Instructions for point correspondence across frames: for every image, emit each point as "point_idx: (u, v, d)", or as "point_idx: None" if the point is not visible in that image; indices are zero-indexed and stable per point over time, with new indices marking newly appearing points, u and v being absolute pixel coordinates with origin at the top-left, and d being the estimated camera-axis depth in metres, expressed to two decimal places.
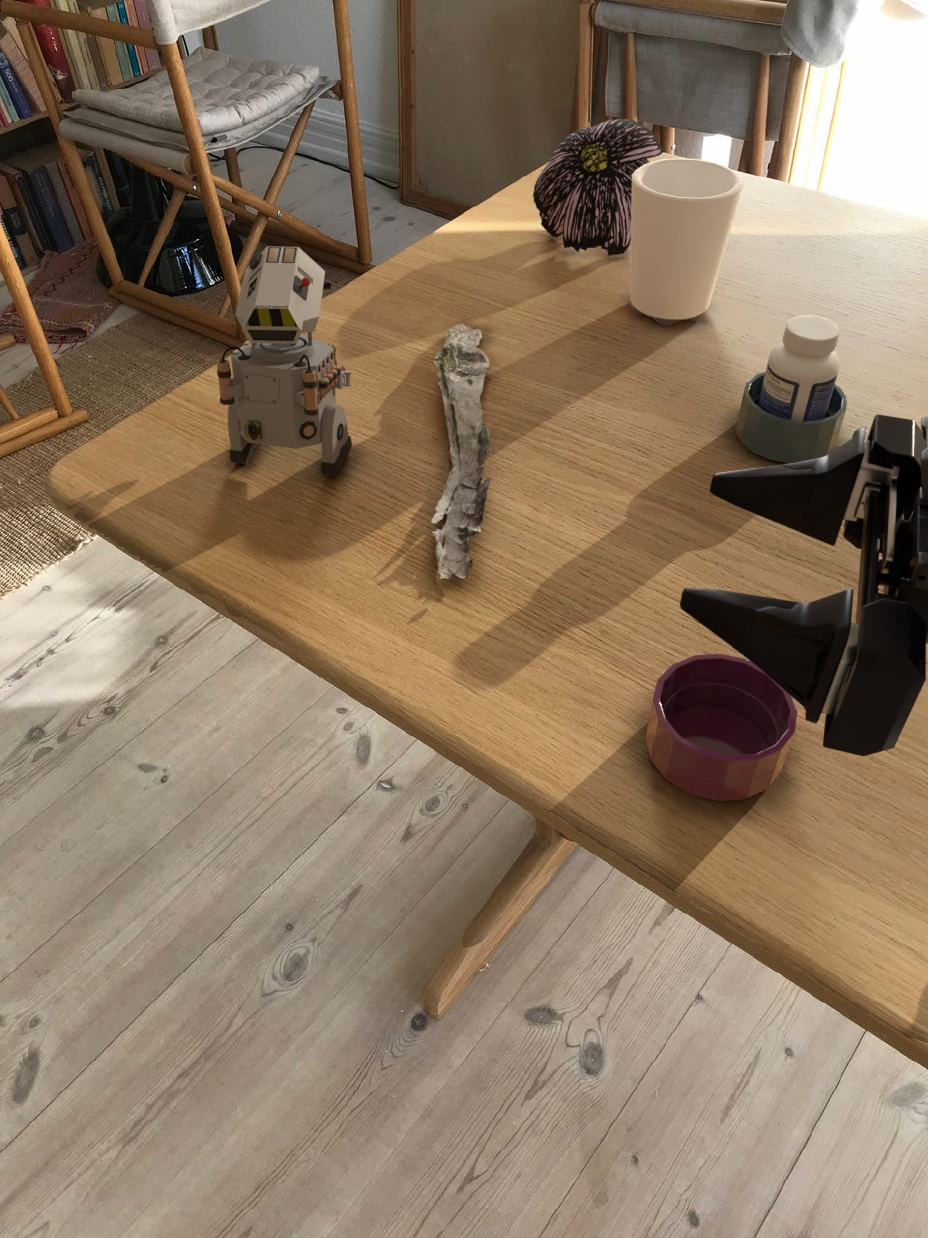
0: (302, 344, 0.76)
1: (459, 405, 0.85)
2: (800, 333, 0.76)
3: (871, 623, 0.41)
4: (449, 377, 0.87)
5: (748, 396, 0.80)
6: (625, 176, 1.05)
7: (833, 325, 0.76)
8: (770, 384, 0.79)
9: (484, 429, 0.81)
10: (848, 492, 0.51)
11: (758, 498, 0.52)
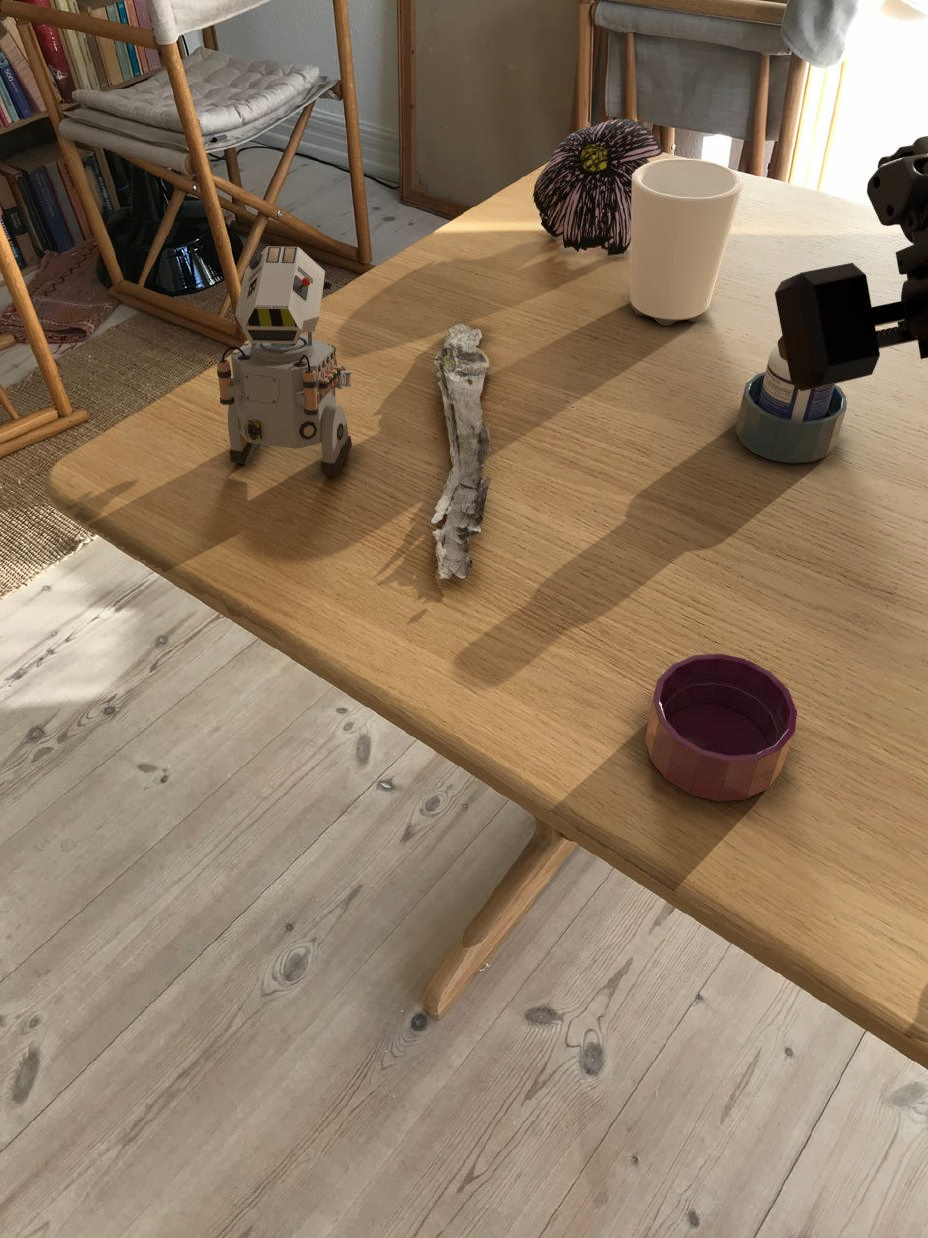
0: (302, 344, 0.76)
1: (459, 405, 0.85)
2: None
3: None
4: (449, 377, 0.87)
5: (748, 396, 0.80)
6: (625, 176, 1.05)
7: None
8: (770, 384, 0.79)
9: (484, 429, 0.81)
10: None
11: None
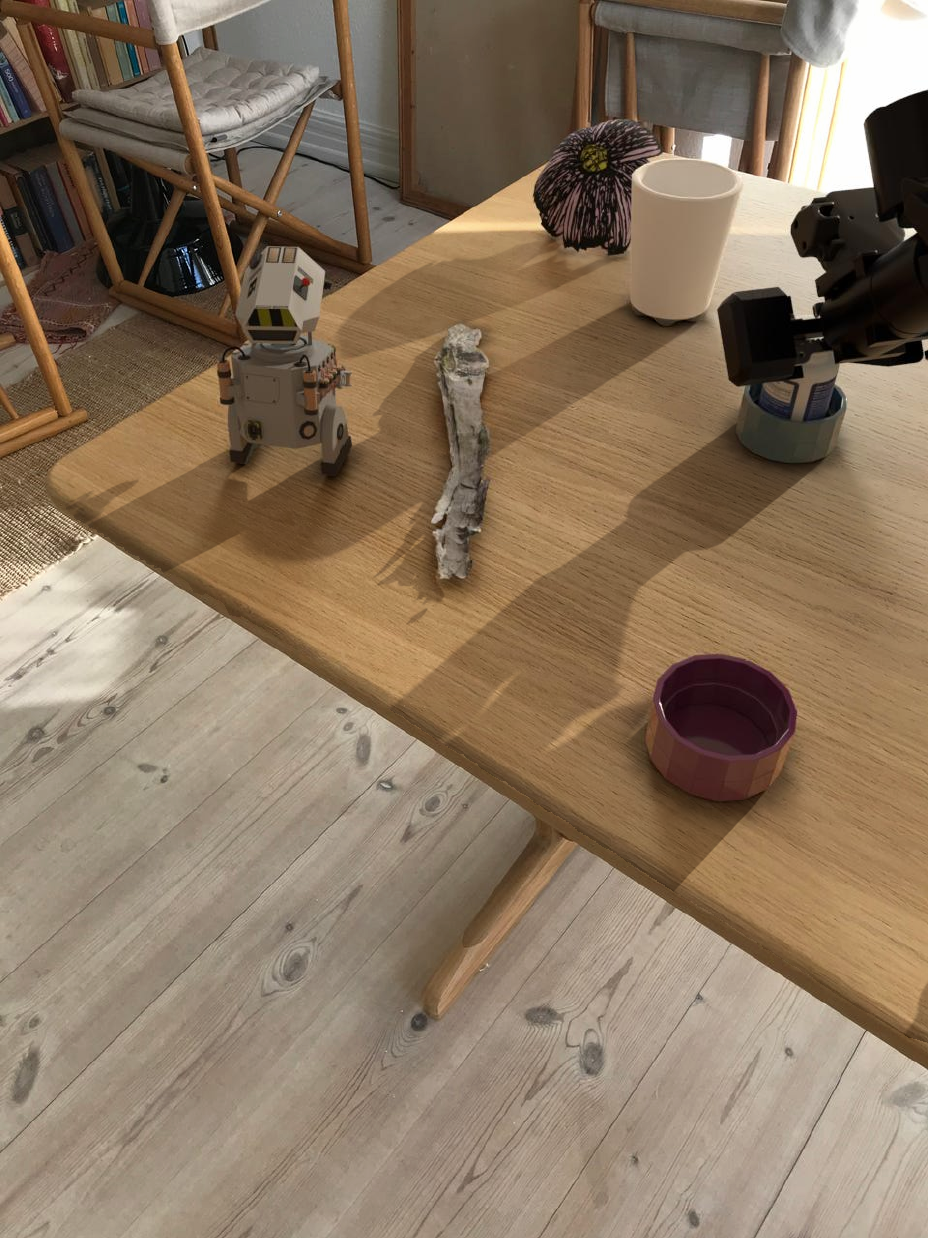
0: (302, 344, 0.76)
1: (459, 405, 0.85)
2: None
3: None
4: (449, 377, 0.87)
5: (748, 396, 0.80)
6: (625, 176, 1.05)
7: None
8: (770, 384, 0.79)
9: (484, 429, 0.81)
10: None
11: None
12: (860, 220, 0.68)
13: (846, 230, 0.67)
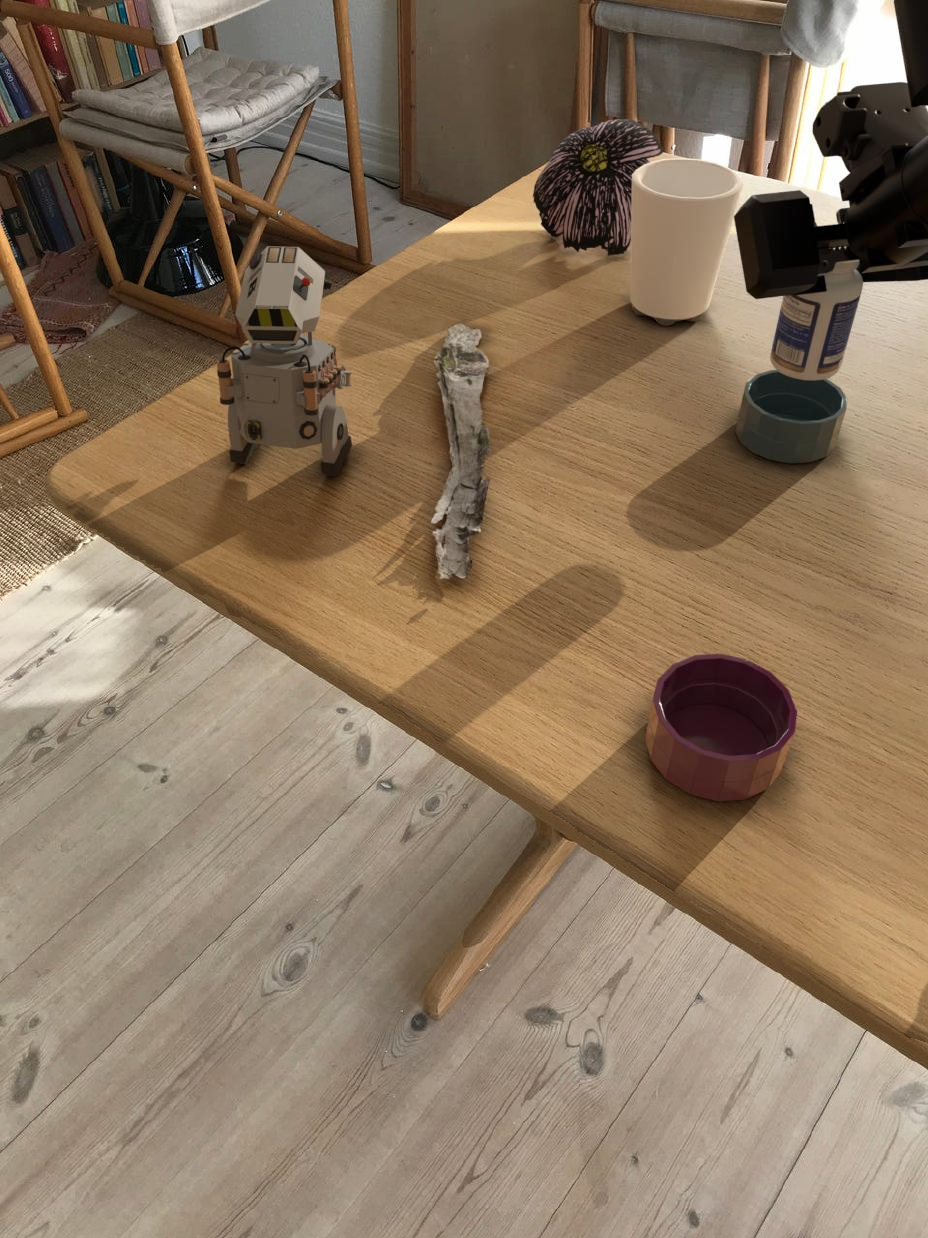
0: (302, 344, 0.76)
1: (459, 405, 0.85)
2: None
3: None
4: (449, 377, 0.87)
5: (748, 396, 0.80)
6: (625, 176, 1.05)
7: None
8: (789, 307, 0.74)
9: (484, 429, 0.81)
10: None
11: None
12: (888, 115, 0.63)
13: (873, 125, 0.62)
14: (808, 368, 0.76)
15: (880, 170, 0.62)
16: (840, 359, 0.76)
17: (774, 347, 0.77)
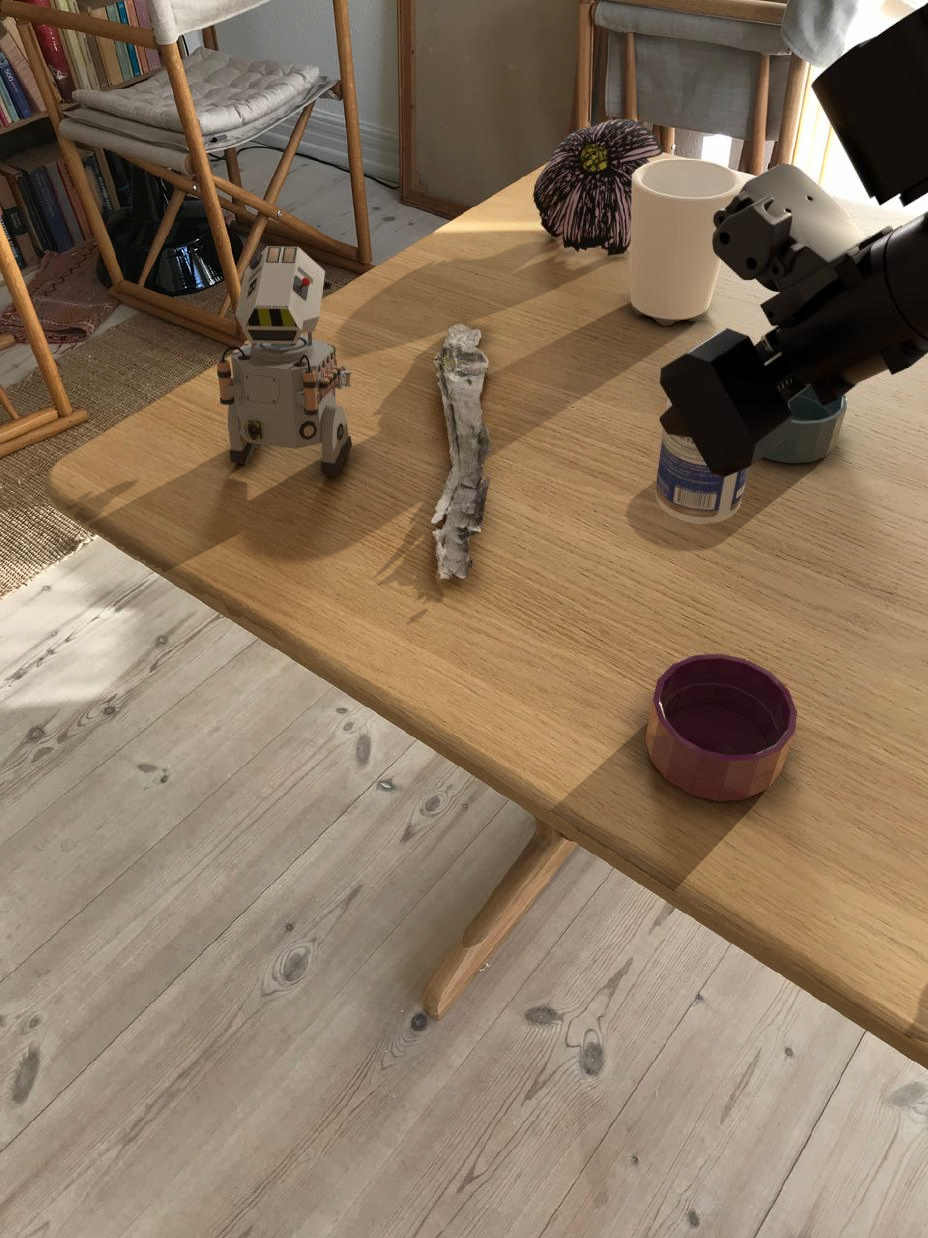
0: (302, 344, 0.76)
1: (459, 405, 0.85)
2: None
3: None
4: (448, 377, 0.87)
5: None
6: (625, 176, 1.05)
7: None
8: (689, 449, 0.58)
9: (484, 429, 0.81)
10: None
11: None
12: (798, 211, 0.48)
13: (794, 229, 0.48)
14: (722, 509, 0.61)
15: (829, 284, 0.47)
16: (744, 484, 0.62)
17: (669, 495, 0.61)
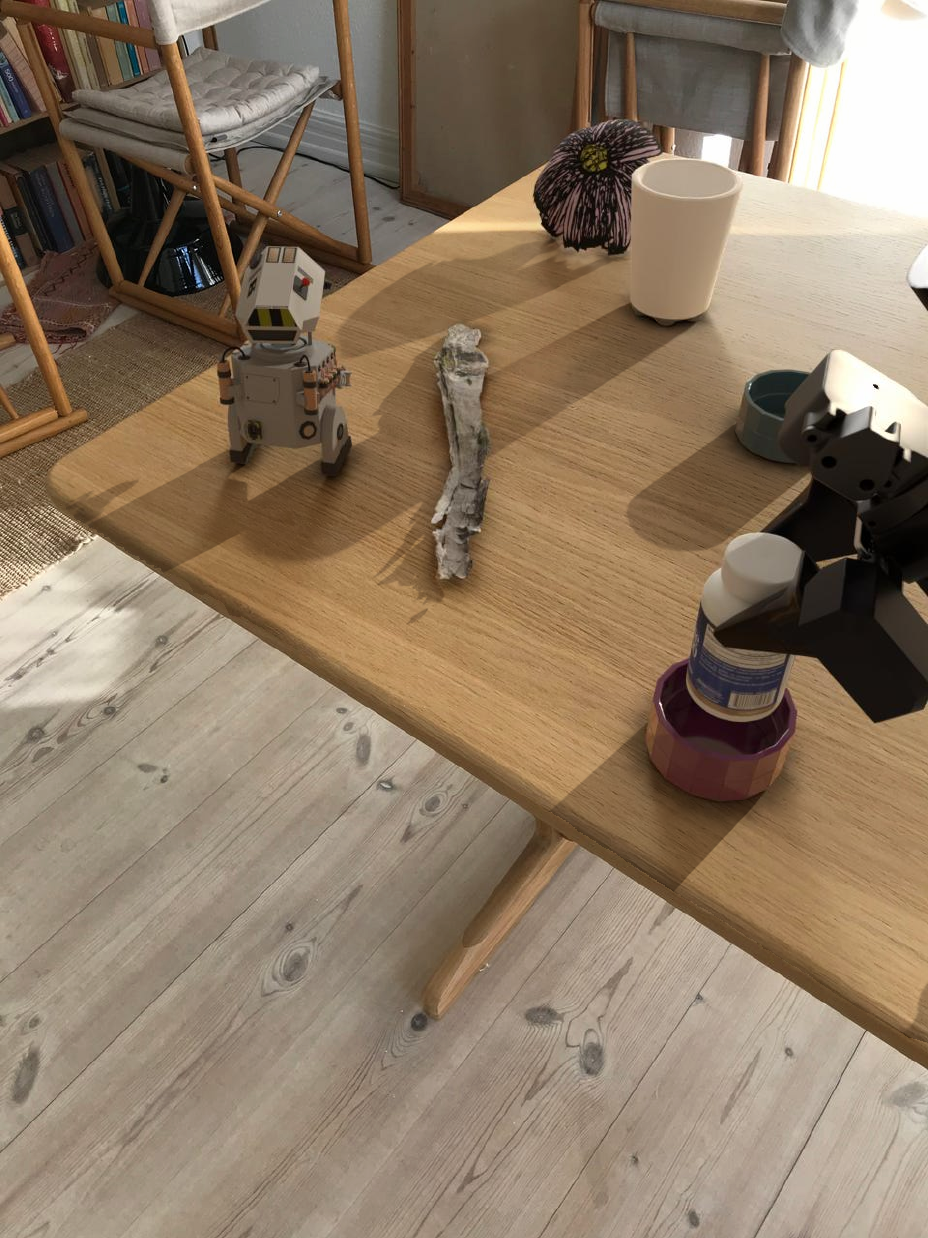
0: (302, 344, 0.76)
1: (458, 405, 0.85)
2: (777, 578, 0.48)
3: (810, 597, 0.41)
4: (448, 377, 0.87)
5: (748, 396, 0.80)
6: (625, 176, 1.05)
7: (773, 537, 0.51)
8: (750, 657, 0.51)
9: (484, 429, 0.81)
10: (844, 500, 0.50)
11: None
12: (879, 407, 0.42)
13: None
14: (778, 699, 0.54)
15: None
16: None
17: (722, 701, 0.54)
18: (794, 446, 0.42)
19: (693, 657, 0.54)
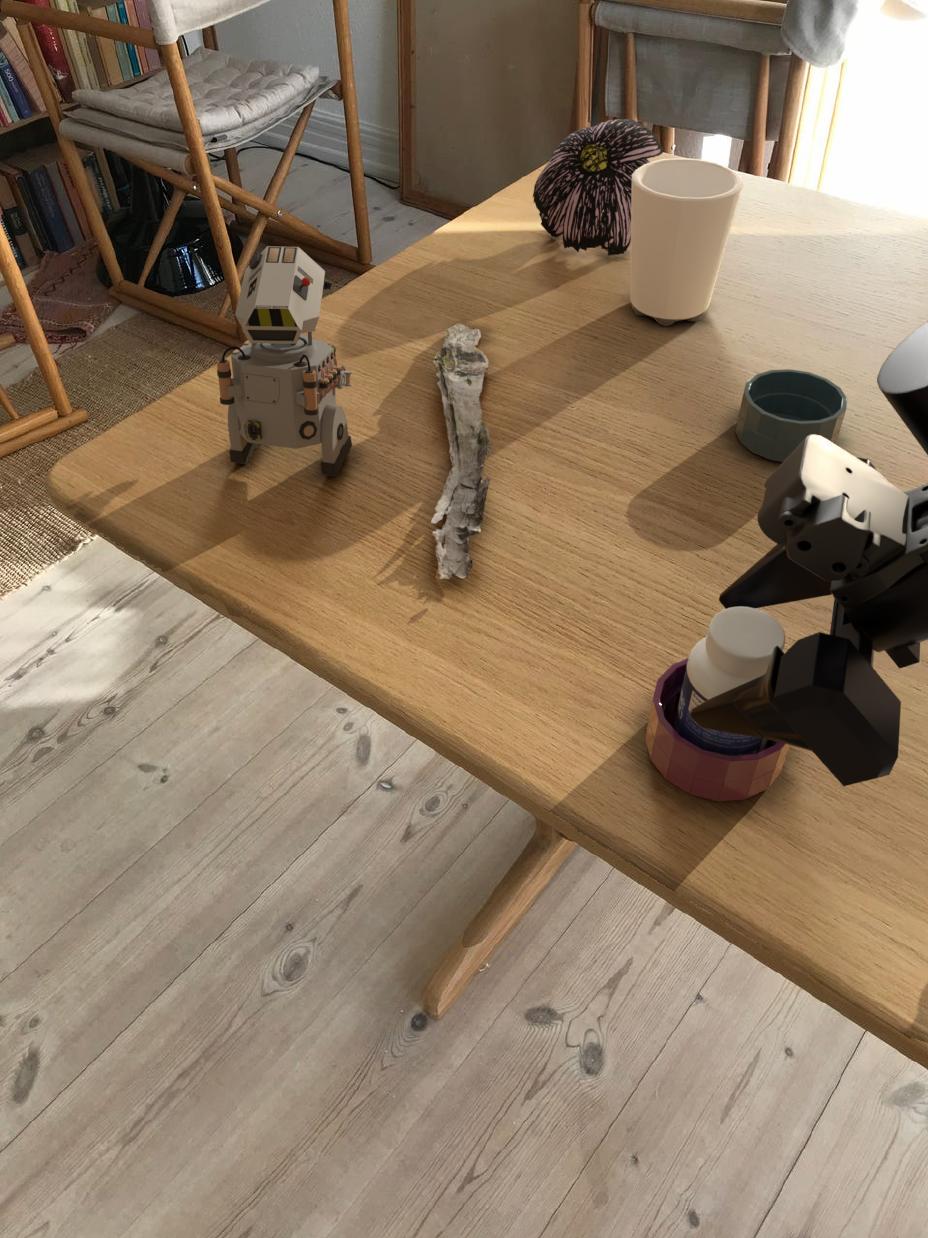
0: (302, 344, 0.76)
1: (458, 405, 0.85)
2: (757, 652, 0.52)
3: (785, 669, 0.44)
4: (448, 377, 0.87)
5: (748, 396, 0.80)
6: (625, 176, 1.05)
7: (754, 612, 0.54)
8: None
9: (483, 429, 0.81)
10: None
11: (765, 592, 0.57)
12: (852, 492, 0.45)
13: None
14: None
15: None
16: None
17: None
18: (772, 526, 0.45)
19: (679, 719, 0.58)
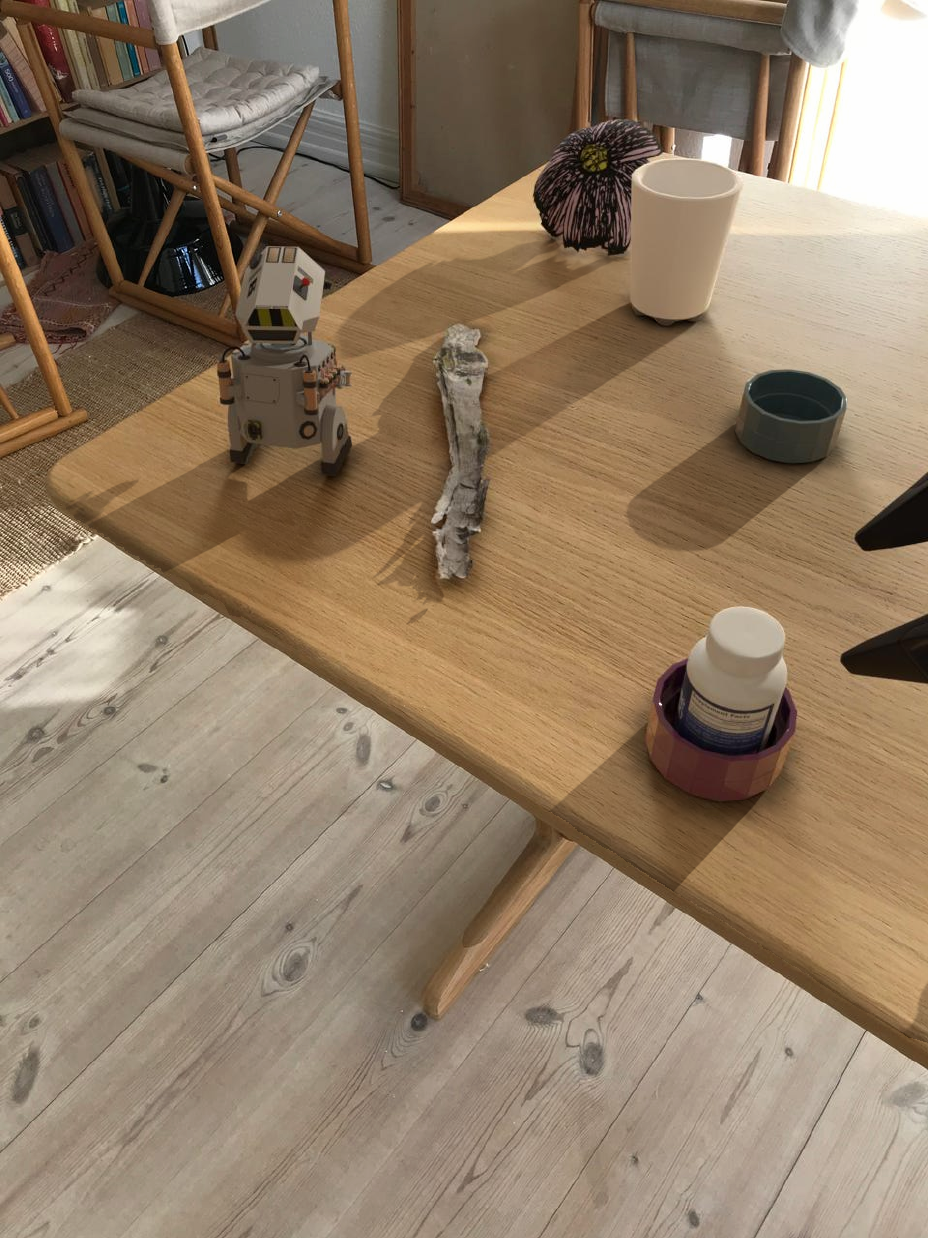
0: (302, 344, 0.76)
1: (458, 405, 0.85)
2: (757, 652, 0.52)
3: None
4: (448, 377, 0.87)
5: (748, 396, 0.80)
6: (625, 176, 1.05)
7: (754, 612, 0.54)
8: (732, 723, 0.54)
9: (483, 429, 0.81)
10: None
11: (909, 529, 0.51)
12: None
13: None
14: None
15: None
16: None
17: None
18: None
19: (679, 719, 0.58)
